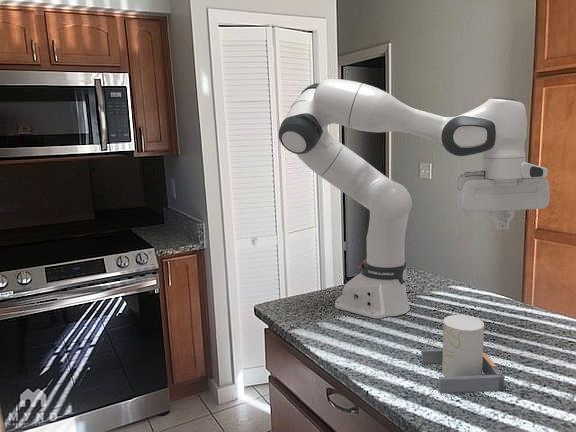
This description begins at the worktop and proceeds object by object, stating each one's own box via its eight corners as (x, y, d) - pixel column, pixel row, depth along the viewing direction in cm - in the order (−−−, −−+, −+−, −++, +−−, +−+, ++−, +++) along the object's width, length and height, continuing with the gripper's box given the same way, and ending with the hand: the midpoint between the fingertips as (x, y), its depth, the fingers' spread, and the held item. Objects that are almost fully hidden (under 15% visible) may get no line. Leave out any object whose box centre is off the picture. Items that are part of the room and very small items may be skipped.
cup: (437, 364, 104) (439, 315, 102) (474, 364, 104) (476, 314, 102) (448, 384, 96) (449, 330, 94) (487, 383, 96) (490, 330, 94)
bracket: (440, 393, 93) (440, 377, 92) (421, 361, 106) (421, 347, 105) (503, 390, 93) (504, 374, 92) (477, 359, 106) (477, 345, 105)
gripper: (463, 173, 102) (461, 233, 104) (555, 169, 101) (551, 229, 104) (452, 170, 108) (451, 228, 110) (539, 166, 108) (536, 224, 110)
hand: (501, 228), depth 107 cm, fingers closed
